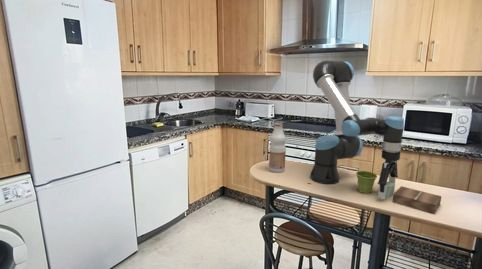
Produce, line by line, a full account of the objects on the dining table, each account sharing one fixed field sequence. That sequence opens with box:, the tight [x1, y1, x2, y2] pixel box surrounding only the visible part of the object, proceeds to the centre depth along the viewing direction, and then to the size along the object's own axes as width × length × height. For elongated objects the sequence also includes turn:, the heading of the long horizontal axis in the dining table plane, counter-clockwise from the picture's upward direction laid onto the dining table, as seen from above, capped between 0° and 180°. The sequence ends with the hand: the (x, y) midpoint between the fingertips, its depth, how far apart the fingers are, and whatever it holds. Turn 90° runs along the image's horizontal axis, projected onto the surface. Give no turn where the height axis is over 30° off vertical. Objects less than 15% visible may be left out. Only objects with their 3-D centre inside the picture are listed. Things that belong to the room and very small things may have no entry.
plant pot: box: [355, 170, 378, 194], centre depth 137 cm, size 9×9×9 cm
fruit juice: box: [268, 122, 287, 174], centre depth 164 cm, size 9×9×28 cm
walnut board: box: [392, 186, 442, 215], centre depth 125 cm, size 16×12×4 cm
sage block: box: [377, 181, 395, 200], centre depth 133 cm, size 5×5×6 cm
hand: (386, 193), depth 133 cm, fingers open, 13 cm apart
